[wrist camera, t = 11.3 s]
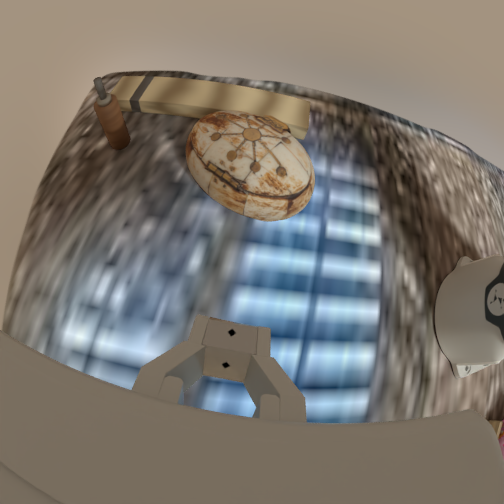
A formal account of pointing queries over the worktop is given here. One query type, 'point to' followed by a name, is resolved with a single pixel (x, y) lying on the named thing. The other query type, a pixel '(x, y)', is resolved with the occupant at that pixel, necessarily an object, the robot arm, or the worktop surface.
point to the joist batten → (208, 100)
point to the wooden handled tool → (111, 117)
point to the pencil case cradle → (496, 426)
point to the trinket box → (250, 164)
